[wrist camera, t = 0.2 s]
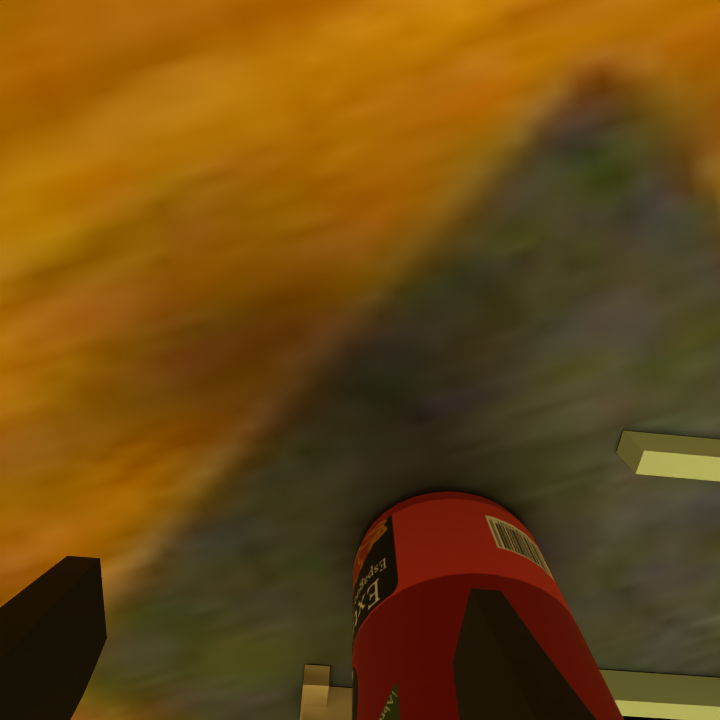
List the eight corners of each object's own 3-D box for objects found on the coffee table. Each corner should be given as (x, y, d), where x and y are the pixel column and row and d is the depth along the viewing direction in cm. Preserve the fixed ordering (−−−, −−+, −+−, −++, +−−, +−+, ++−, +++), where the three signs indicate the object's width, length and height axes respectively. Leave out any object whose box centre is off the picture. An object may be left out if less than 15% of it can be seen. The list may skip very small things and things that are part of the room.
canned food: (344, 492, 21) (335, 813, 10) (538, 477, 20) (726, 788, 10) (360, 629, 23) (364, 991, 13) (531, 617, 23) (673, 974, 13)
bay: (753, 694, 25) (776, 725, 24) (540, 680, 25) (551, 711, 23) (886, 454, 20) (926, 476, 19) (623, 430, 20) (644, 450, 18)
